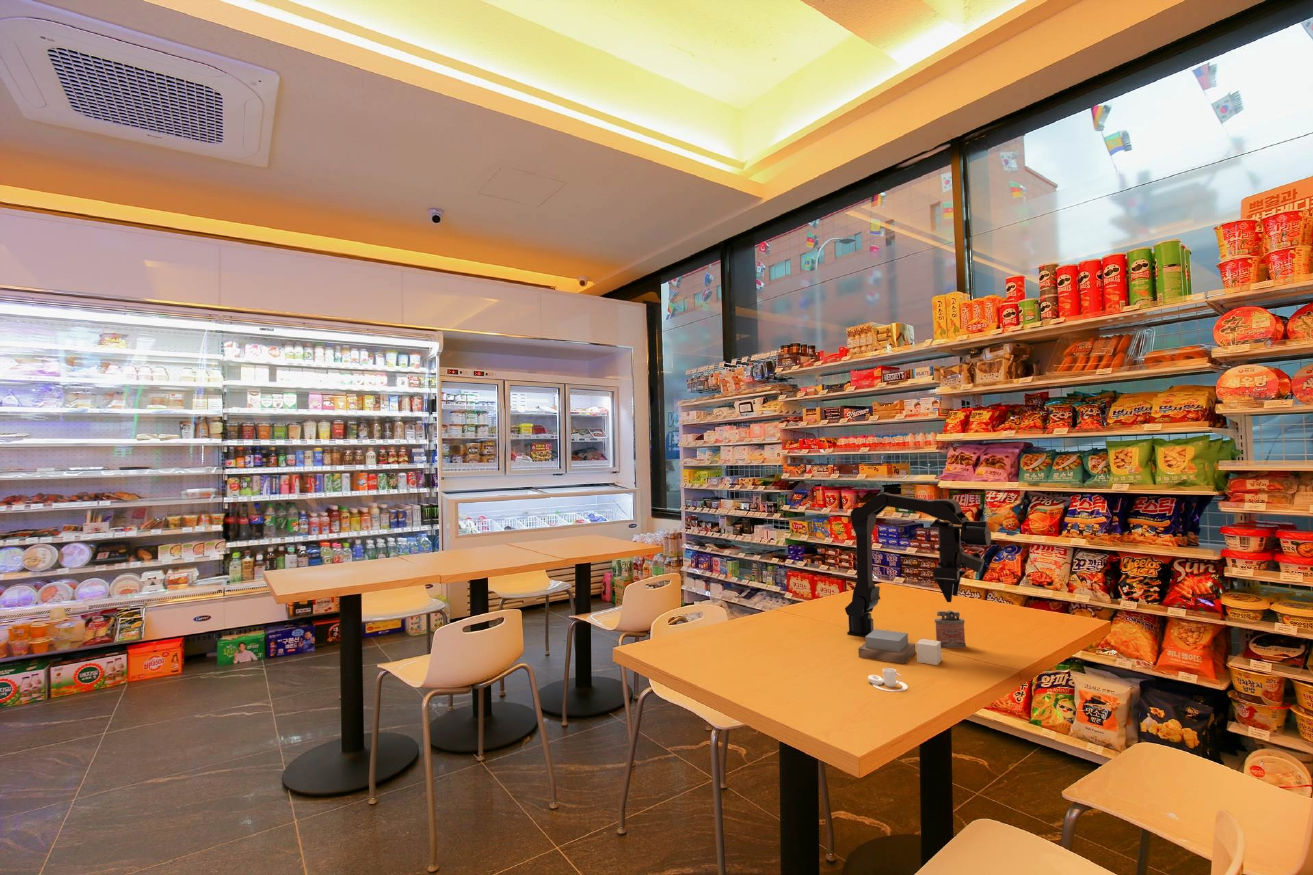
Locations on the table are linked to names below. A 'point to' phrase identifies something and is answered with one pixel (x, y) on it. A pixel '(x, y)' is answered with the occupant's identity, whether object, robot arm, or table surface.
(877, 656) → the base block
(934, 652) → the cube
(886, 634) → the top block
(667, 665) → the table surface
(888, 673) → the teacup and saucer
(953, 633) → the lighter
